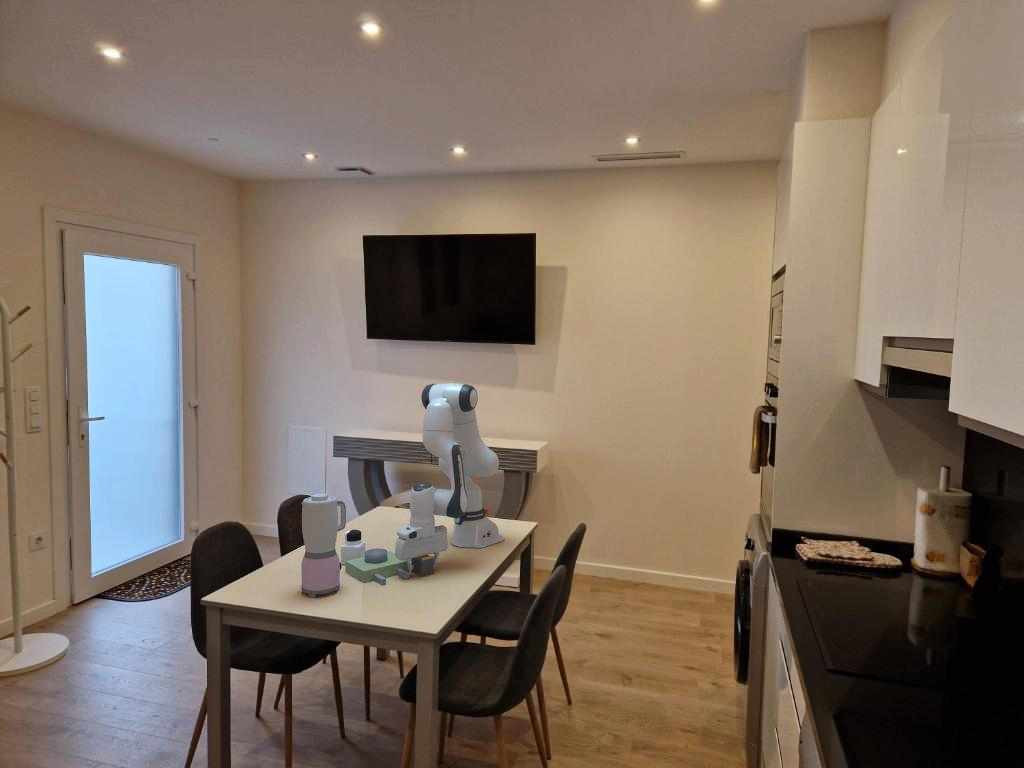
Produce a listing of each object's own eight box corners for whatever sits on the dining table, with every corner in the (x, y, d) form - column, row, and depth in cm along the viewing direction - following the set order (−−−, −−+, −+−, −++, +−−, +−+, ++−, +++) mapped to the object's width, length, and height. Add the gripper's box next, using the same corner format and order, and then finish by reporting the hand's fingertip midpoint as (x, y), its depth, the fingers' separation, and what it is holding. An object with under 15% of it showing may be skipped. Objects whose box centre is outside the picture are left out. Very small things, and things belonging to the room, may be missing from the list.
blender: (312, 601, 213) (310, 501, 211) (294, 590, 222) (292, 495, 220) (355, 588, 224) (354, 494, 222) (337, 579, 233) (336, 488, 231)
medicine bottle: (365, 559, 254) (365, 528, 253) (359, 565, 247) (359, 533, 246) (347, 559, 255) (347, 527, 254) (340, 565, 248) (340, 533, 247)
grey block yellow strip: (423, 569, 244) (423, 551, 244) (433, 574, 239) (433, 555, 238) (411, 572, 241) (411, 553, 240) (421, 577, 235) (421, 558, 235)
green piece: (390, 561, 252) (389, 543, 251) (418, 576, 236) (418, 556, 236) (345, 571, 240) (345, 552, 240) (372, 587, 225) (371, 567, 224)
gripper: (441, 522, 248) (441, 559, 249) (392, 532, 235) (393, 570, 236) (451, 526, 243) (451, 563, 244) (402, 536, 230) (402, 575, 231)
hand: (422, 567), depth 240 cm, fingers open, 8 cm apart
